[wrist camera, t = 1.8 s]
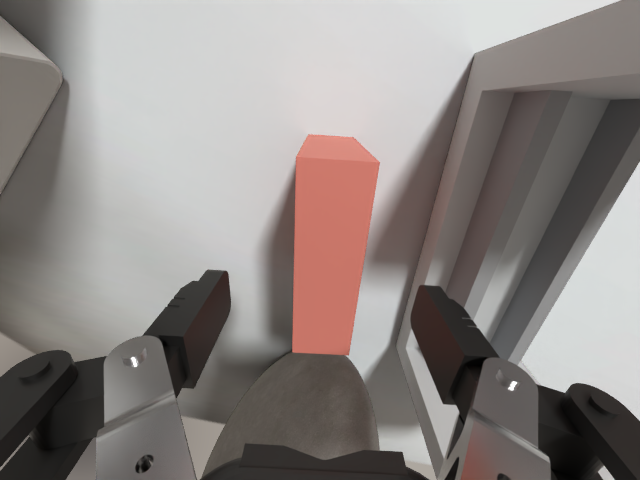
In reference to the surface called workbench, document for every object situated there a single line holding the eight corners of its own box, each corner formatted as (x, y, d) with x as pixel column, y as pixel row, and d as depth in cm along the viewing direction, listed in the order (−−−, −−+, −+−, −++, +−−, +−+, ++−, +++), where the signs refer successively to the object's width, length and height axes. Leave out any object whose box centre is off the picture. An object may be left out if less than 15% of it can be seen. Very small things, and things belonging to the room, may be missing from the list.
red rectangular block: (308, 134, 17) (296, 156, 9) (353, 137, 17) (380, 162, 9) (303, 262, 22) (292, 352, 14) (339, 264, 22) (348, 355, 14)
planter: (262, 412, 31) (193, 761, 15) (212, 386, 29) (63, 759, 12) (380, 330, 25) (494, 774, 8) (327, 289, 23) (338, 775, 6)
